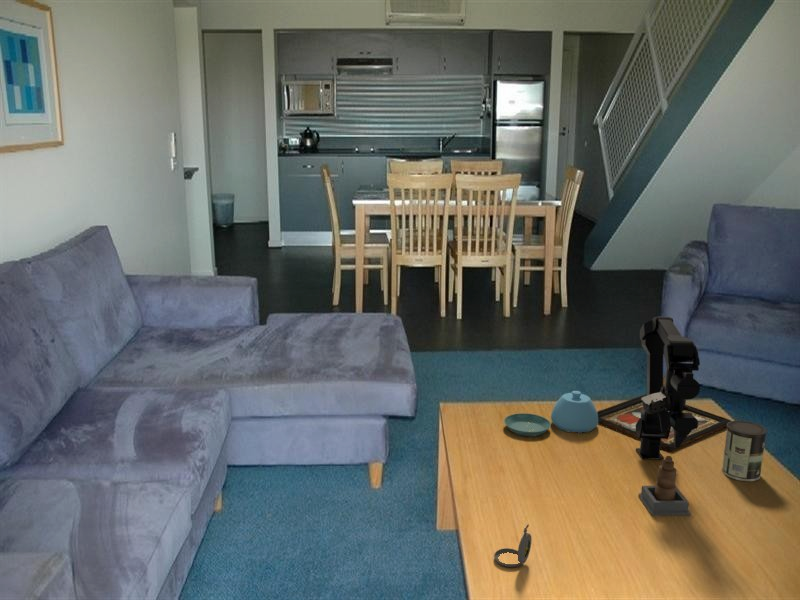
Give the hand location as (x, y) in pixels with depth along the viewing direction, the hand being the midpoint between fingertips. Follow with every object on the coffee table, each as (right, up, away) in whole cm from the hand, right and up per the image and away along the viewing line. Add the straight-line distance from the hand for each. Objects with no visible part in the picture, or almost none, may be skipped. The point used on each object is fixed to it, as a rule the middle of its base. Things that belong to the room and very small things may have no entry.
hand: (670, 439), depth 210 cm
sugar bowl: (-17, -3, +41) cm, 45 cm away
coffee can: (+24, -12, +10) cm, 28 cm away
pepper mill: (-5, -15, -9) cm, 18 cm away
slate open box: (-5, -15, -9) cm, 18 cm away
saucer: (-33, -4, +38) cm, 50 cm away
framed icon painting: (+12, -3, +45) cm, 47 cm away
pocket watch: (-48, -22, -35) cm, 63 cm away
